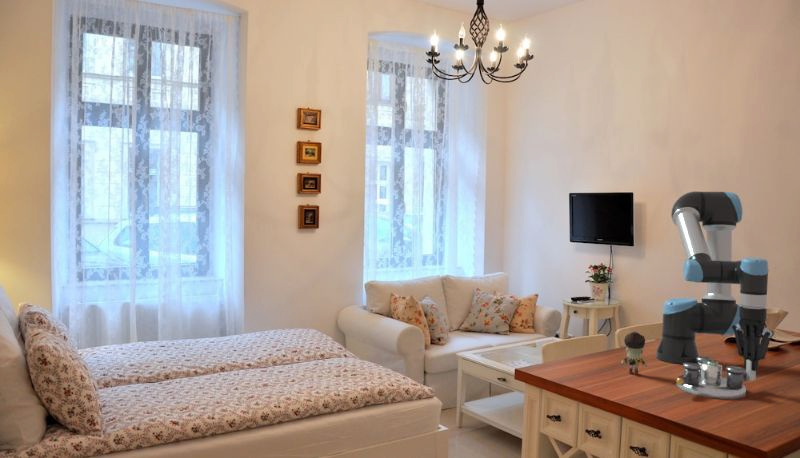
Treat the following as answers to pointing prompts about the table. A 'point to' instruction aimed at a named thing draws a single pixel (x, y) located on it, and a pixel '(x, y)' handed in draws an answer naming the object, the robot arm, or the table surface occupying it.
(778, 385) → the table surface
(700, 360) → the knob
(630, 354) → the toy
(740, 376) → the knob
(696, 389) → the tribrach plate
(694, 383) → the knob
